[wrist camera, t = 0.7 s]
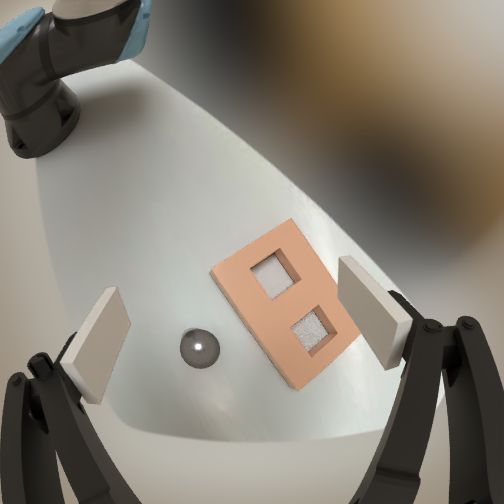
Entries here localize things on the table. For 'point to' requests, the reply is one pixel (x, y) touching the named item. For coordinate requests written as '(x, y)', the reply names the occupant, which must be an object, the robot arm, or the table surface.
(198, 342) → the steel dowel
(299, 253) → the terracotta block
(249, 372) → the table surface
